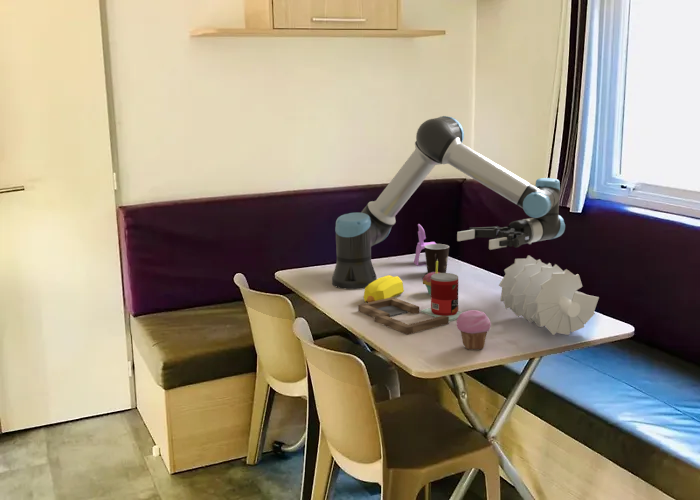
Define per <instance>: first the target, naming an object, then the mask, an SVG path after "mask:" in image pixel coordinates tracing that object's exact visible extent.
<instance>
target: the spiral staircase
mask: <svg viewBox="0 0 700 500" xmlns="http://www.w3.org/2000/svg"><path fill="white" fill-rule="evenodd" d="M503 271H504V274H505V275H504V276H503V277H502V280H500V283H499V284H498V287H500V288H501V295H500V302H503V304H504V309H506V310H507V309H510V310H511V311H512V312H513V314H515V315H516V317H518V318H519V317H521V316H522V317H523V318H524V319H525V320H526V321H528V322H529V323H530V324H532V323H533V322H534V323H535V325H536V326H537V327H538V328H540V327H541V328H542V327H545V328H546V329H547V330H548V331H549V333H550V334H552V336H554V335H555V334H562V335H566V336H567V335H568V336H569V335H570V334H571V333H573V332H576V331H579V330H581V329H584V328H585V325H586V324H587V323H588V322H589V321H590V320H591V318H592V317H593V316H594V315H595V314H596V313H595V310H596V307H597V304H598V301H599V299H600V297H599V296H594V295H589V294H586V293H584V292H581V291H578V290H580V289H581V288H582V287H584V286H583V283H582V281H581V277H580V275H579V274H578V273H577V274H574V273H573V272H571V271H570V270H568V269H567V268H566V269H564V270H563V269H562V268H561V267H560V266H559V265H558V264H556V263H554V265H553V266H552V263H550V262H548V263H545V262H542V260H541V259H540V258H539V259H535V258H534V257H532V256H531V255H528V254H527V256H526V258H515V259H514V263H512V264H511V265H510V266H508V267H506V268H505V269H504V270H503Z"/></svg>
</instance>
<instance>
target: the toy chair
mask: <svg viewBox="0 0 700 500" xmlns="http://www.w3.org/2000/svg"><path fill="white" fill-rule="evenodd" d="M417 227H418V231H417V235H418V242H417V245H416V249H415V255H414V256H415V257H414V260H413V263H414V265H416V266H417V267H419V262H420V254H421V251H422V250H425V247H424V246H426V245H429V244H437V243H436V242H435V241H430V242H424V240H426V239H427V237H426V232H425V229H424V228H423V226H422V225H421V224H420V223H418V224H417Z"/></svg>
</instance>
